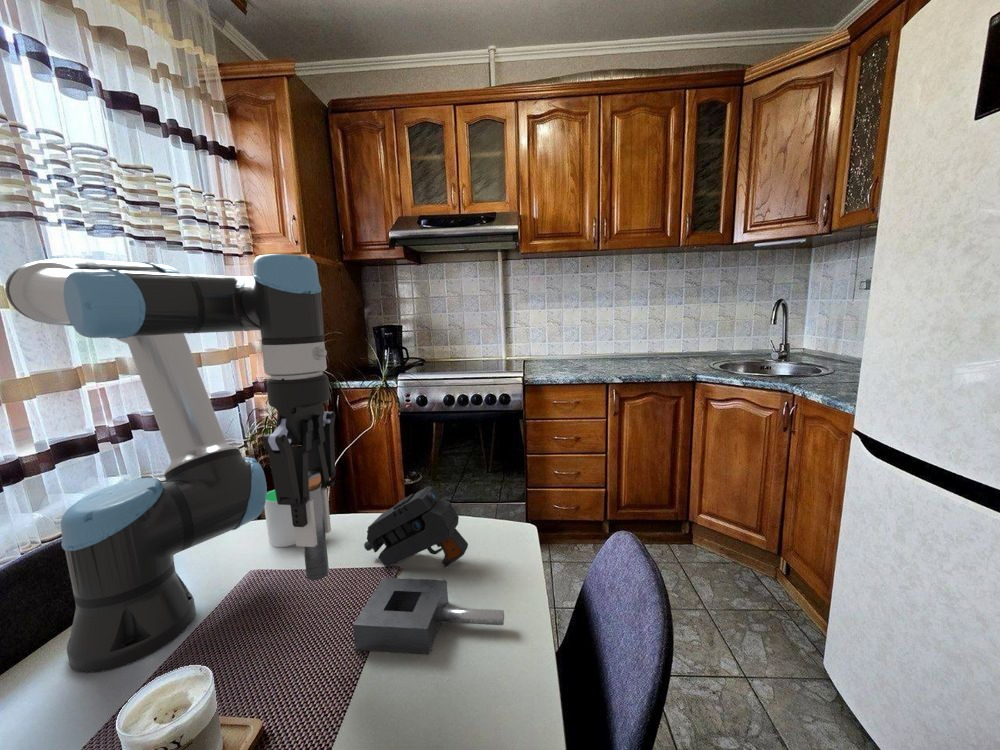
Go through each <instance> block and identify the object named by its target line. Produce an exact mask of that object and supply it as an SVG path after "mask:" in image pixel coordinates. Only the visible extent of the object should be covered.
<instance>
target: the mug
mask: <svg viewBox="0 0 1000 750" xmlns="http://www.w3.org/2000/svg"><path fill="white" fill-rule="evenodd" d="M264 514H265V523H266V530H267V538H268V544H269V546H271V547H273V548H287V547H290V546H294V545H296V541H295V532H294V526H293V523H292V514H291V506H290V505H279V504H278V503H277V498H276V492H275V489H273V490H269V491H267V497H266V502H265V506H264Z"/></svg>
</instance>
